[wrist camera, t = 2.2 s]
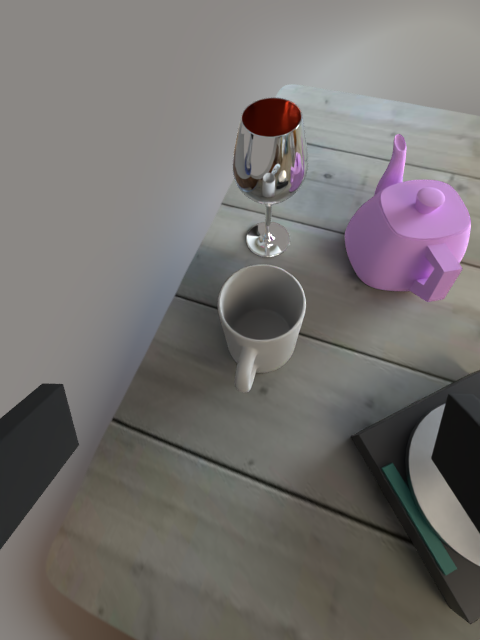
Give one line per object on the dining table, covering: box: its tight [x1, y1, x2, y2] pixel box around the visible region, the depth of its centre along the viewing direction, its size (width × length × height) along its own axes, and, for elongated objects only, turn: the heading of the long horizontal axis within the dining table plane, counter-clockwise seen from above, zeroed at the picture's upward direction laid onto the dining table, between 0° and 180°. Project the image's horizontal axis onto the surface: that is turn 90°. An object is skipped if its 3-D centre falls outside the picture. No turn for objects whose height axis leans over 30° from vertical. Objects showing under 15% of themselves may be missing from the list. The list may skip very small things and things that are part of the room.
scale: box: [351, 370, 480, 624], centre depth 30 cm, size 16×16×4 cm
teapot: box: [345, 134, 471, 302], centre depth 38 cm, size 13×20×11 cm, turn 7°
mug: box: [218, 264, 306, 392], centre depth 33 cm, size 12×8×11 cm
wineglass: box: [233, 98, 308, 258], centre depth 37 cm, size 8×8×18 cm
